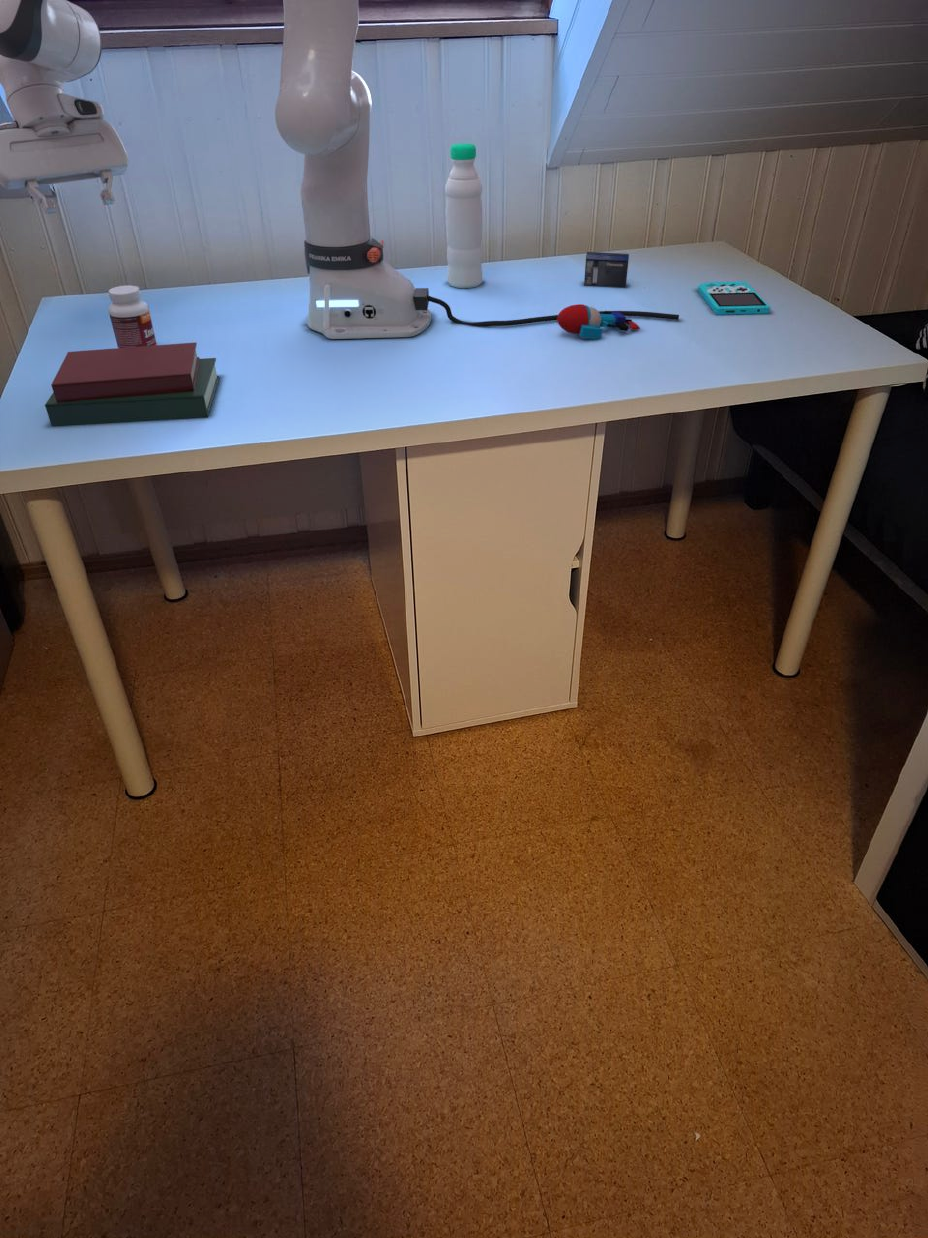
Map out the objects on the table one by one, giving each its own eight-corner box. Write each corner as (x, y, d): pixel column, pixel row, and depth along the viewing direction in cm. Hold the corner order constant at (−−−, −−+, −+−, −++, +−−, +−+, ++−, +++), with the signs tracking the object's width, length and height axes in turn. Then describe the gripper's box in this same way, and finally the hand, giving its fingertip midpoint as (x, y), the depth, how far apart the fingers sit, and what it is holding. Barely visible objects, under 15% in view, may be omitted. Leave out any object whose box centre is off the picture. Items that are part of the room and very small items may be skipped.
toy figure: (618, 327, 158) (546, 324, 152) (626, 300, 155) (552, 296, 149) (639, 344, 152) (564, 341, 147) (647, 316, 149) (572, 312, 144)
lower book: (219, 377, 137) (215, 357, 135) (207, 416, 126) (203, 395, 124) (77, 385, 136) (71, 365, 134) (51, 425, 124) (44, 404, 122)
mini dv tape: (584, 285, 173) (586, 253, 169) (584, 283, 174) (587, 251, 170) (625, 287, 171) (628, 255, 168) (626, 285, 173) (629, 253, 169)
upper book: (199, 358, 135) (196, 342, 134) (194, 391, 125) (190, 373, 123) (72, 368, 133) (67, 351, 131) (56, 402, 123) (51, 384, 121)
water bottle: (483, 278, 177) (483, 140, 162) (480, 289, 172) (480, 147, 157) (449, 278, 178) (446, 140, 163) (445, 288, 172) (441, 147, 157)
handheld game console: (745, 286, 171) (747, 279, 170) (771, 313, 158) (772, 306, 157) (695, 288, 170) (696, 280, 170) (716, 314, 158) (717, 307, 157)
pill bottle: (158, 361, 143) (142, 293, 136) (119, 365, 142) (101, 296, 135) (160, 348, 148) (144, 282, 141) (122, 352, 147) (105, 285, 140)
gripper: (-25, 114, 129) (14, 208, 131) (110, 102, 139) (145, 190, 141) (-27, 135, 134) (11, 225, 137) (104, 122, 144) (137, 206, 147)
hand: (80, 207), depth 139 cm, fingers open, 8 cm apart
